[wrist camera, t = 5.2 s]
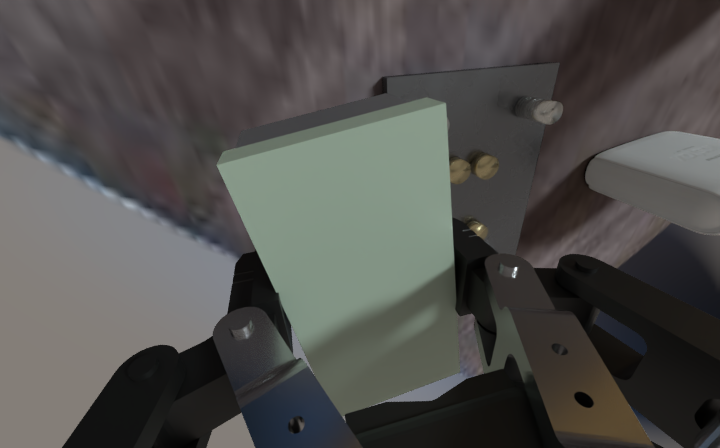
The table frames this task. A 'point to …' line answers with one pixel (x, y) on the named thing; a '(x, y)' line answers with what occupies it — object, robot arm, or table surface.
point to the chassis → (490, 139)
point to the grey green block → (357, 240)
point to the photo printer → (664, 178)
